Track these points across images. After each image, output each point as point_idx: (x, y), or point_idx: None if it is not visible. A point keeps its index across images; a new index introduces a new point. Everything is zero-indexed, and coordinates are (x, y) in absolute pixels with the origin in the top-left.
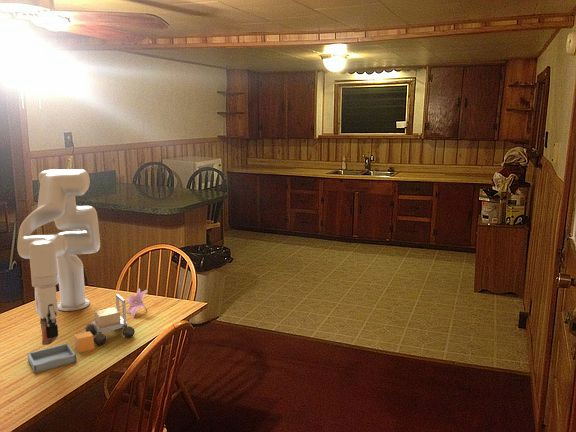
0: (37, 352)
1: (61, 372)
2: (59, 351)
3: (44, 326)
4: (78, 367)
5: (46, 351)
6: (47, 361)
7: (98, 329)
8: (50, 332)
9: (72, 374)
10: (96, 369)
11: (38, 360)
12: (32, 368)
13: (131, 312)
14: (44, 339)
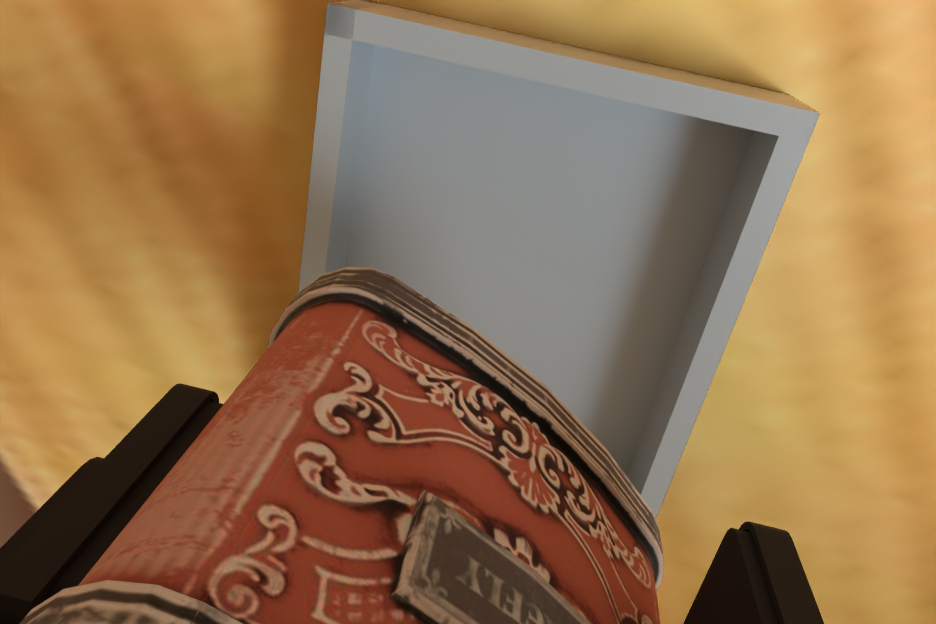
0: (736, 229)
1: (187, 224)
2: (642, 428)
3: (90, 573)
4: (189, 377)
5: (695, 325)
6: (332, 191)
7: None
8: (50, 509)
9: (80, 275)
10: (56, 449)
11: (629, 173)
12: (492, 29)
13: None
14: (280, 339)
